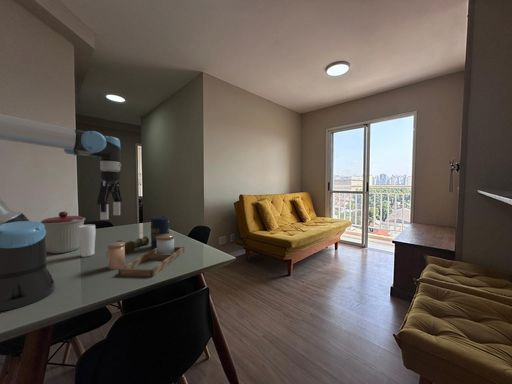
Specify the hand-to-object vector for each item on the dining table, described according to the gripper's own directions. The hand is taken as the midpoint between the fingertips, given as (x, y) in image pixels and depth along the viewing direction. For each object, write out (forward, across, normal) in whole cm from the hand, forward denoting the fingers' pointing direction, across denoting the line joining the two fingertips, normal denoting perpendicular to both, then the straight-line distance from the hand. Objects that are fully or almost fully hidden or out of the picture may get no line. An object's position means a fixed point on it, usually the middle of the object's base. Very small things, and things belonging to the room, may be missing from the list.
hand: (111, 217), depth 94 cm
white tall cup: (+21, +12, +14) cm, 28 cm away
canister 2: (+20, +17, -18) cm, 32 cm away
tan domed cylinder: (+20, -8, -5) cm, 23 cm away
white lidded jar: (+20, +2, -23) cm, 31 cm away
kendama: (+21, +17, -3) cm, 27 cm away
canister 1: (+21, +24, +30) cm, 44 cm away
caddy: (+20, -6, -21) cm, 29 cm away
